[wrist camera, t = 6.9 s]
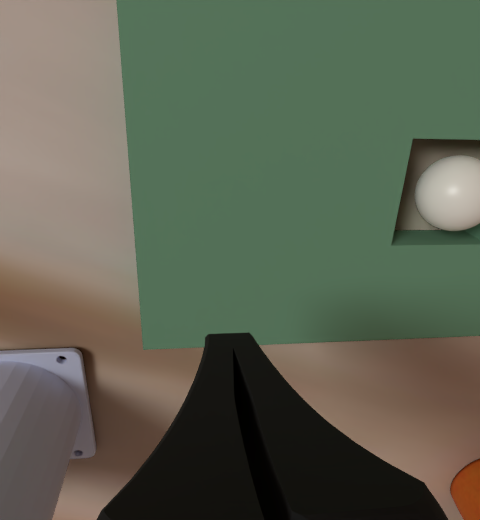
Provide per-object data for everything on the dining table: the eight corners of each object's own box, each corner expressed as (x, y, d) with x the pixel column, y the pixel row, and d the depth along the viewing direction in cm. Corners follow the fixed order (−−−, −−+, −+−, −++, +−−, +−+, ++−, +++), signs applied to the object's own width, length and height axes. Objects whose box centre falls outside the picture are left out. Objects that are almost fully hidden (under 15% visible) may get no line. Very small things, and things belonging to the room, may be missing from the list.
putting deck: (146, 327, 23) (143, 349, 21) (122, -23, 16) (113, -34, 14) (470, 315, 25) (492, 335, 23) (567, 4, 18) (609, -3, 16)
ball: (464, 216, 22) (397, 212, 22) (487, 149, 20) (415, 144, 20) (498, 246, 19) (421, 240, 19) (528, 170, 17) (443, 164, 17)
